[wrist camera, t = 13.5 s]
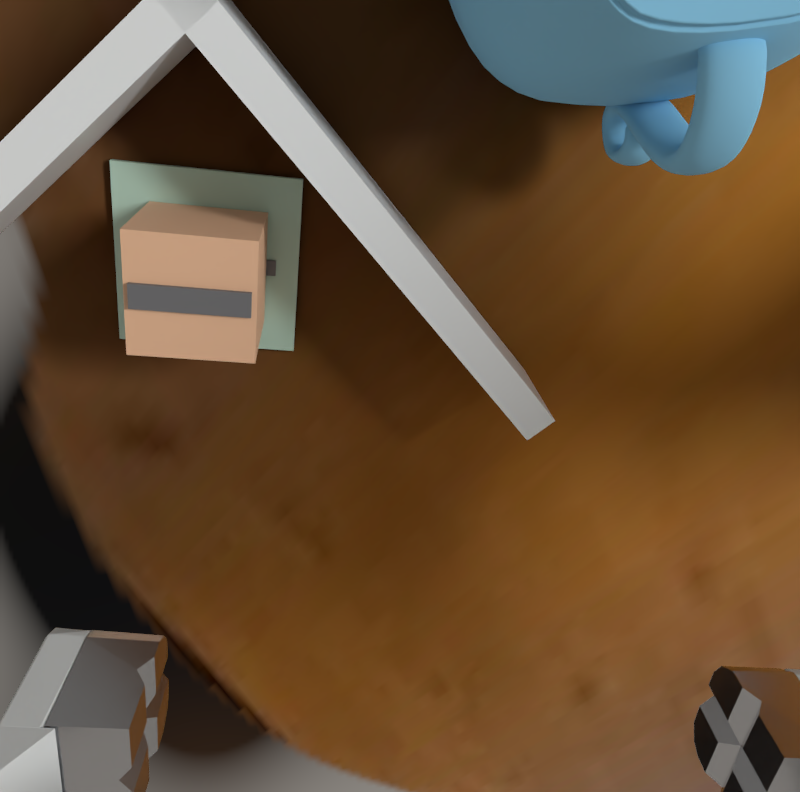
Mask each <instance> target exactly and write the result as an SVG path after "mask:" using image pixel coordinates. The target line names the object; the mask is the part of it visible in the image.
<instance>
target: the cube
mask: <svg viewBox="0 0 800 792" xmlns="http://www.w3.org/2000/svg"><path fill="white" fill-rule="evenodd" d="M267 232H268V212H258V211H247V210H237V209H226V208H216V207H205V206H195V205H184V204H174V203H163V202H153V201H149V202H148V203H147V204H146V205H145V206H144V207H143V208H142V209H141V210H139V211H138V212H137V213H136V214H135V215H134V216H133V217H132V218H131V219H130V220H129V221H128V222H127V223H126V224H124V225H123V226H122V227H121V228H120V243H121V262H122V281H123V299H124V318H125V337H126V355H137V356H152V357H166V358H181V359H196V360H211V361H226V362H240V363H255V362H256V357H257V352H258V348H259V343H260V338H261V333H262V329H263V324H264V316H265V288H266V260H267Z"/></svg>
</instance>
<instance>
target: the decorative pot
mask: <svg viewBox="0 0 800 792" xmlns="http://www.w3.org/2000/svg"><path fill="white" fill-rule="evenodd" d="M449 2H450V5H451V8H452V10H453V13H454V16H455V18H456V20H457V22H458V25H459V27H460V29H461V31H462V33H463V35H464V37H465V39H466V41H467V43H468V45H469V46H470V48H471V49H472V51H473V52H474V54H475V55H476V56H477V58H478V59H479V61H480V62H481V64H482V65H483V66H484V68H486V69H487V70H488V71H489V72H490V73H491V74H492V75H493V76H494V77H495V78H496V79H497V80H499V81H500V82H501V83H503V84H504V85H506V86H508V87H509V88H511V89H512V90H514V91H516V92H517V93H520V94H523V95H526V96H529V97H531V98H534V99H537V100H541V101H547V102H557V103H566V104H575V105H594V106H606V107H605V110H604V113H603V119H602V136H603V143H604V148H605V151H606V153H607V155H608V156H609V158H611V159H612V160H613V161H615V162H617V163H620V164H623V165H627V166H638V165H641V164H644V163H646V162H648V161H649V160H650V159H651V160H652V161H653V162H654V163H656V164H657V165H658V166H659V167H661V168H662V169H664V170H666V171H668V172H671V173H674V174H679V175H699V174H706V173H710V172H713V171H715V170H718V169H720V168H722V167H724V166H725V165H727V164H728V163H729V162H731V161H732V160H733V159H734V158H735V157H736V156H737V155H738V154H739V153H740V151H741V150H742V148H743V147H744V145H745V143H746V142H747V140H748V138H749V136H750V134H751V132H752V129H753V127H754V124H755V122H756V119H757V116H758V113H759V110H760V106H761V102H762V97H763V93H764V87H765V78H766V72H768V71H770V70H772V69H774V68H775V67H777V66H779V65H781V64H783V63H785V62H787V61H788V60H790V59H792V58H794V57H796V56H797V55H799V54H800V0H449ZM694 94H696V95H695V101H694V107H693V111H692V115H691V119H690V123H689V125H688V124H687V122H686V121H685V120H684V118H683V117H682V116H681V114H680V113H679V112H678V111H677V109H676V108H675V107H674V106H673V105H672V103H671V102H670V101H669V100H670V99H676V98H682V97H686V96H690V95H694Z"/></svg>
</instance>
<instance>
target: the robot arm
mask: <svg viewBox="0 0 800 792" xmlns="http://www.w3.org/2000/svg"><path fill="white" fill-rule="evenodd" d="M167 657H168V651H167V638H166V637H165V636H160V635H147V634H135V633H121V632H109V631H97V630H93V631H87V630H75V629H63V628H55V629H54V630H53V631H52V632H51V633H49V634H48V635H47V636H46V638H45V640H44V642H43V643H42V645H41V647H40V649H39V651H38V653H37V654H36V656H35V658H34V660H33V662H32V664H31V665H30V667H29V669H28V671H27V673H26V675H25V676H24V678H23V680H22V682H21V684H20V686H19V687H18V689H17V691H16V693H15V695H14V697H13V699H12V700H11V702H10V704H9V706H8V708H7V710H6V711H5V713H4V715H3V717H2V719H1V720H0V792H146V789H147V785H148V782H149V759H148V758H149V757H151V756H152V755H153V754H154V753H155V752H156V751H157V750H158V748H159V744H160V741H161V737H162V734H163V730H164V724H165V719H166V713H167V707H168V694H169V689H168V687H169V685H168V684H169V683H168V679H167V677H166V676H165V675H164V674H163V670H164V666H165V663H166V660H167ZM709 686H710V688H711V690H712V692H713V694H714V696H713V697H711V698H710V699H709V700H707V701H706V702H705V703H703V704H702V705H700V707H699V710H698V713H697V715H696V718H695V721H694V743H695V747H696V751H697V755H698V758H699V760H700V762H701V764H702V767H703V769H704V771H705V773H706V774H707V775H709V776H710V777H711V778H712V779H713V780H714V781H716V782H717V783H718V784H719V785H720V786H721V787H722V789H721V792H800V669H784V670H783V669H777V668H754V667H732V666H721V667H720V668H718V669H717V670H716V671H715V672H714V673H713V676H712V678H711V680H710V683H709Z"/></svg>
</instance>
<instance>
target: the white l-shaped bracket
mask: <svg viewBox="0 0 800 792" xmlns="http://www.w3.org/2000/svg"><path fill="white" fill-rule="evenodd" d="M195 47H197V48H198V49H199V50H200V52H201V53H202V54H203V55H204V56H205V58H206V59H207V60H208V61H209V62H210V64H211V65H212V66H213V67H214V68H215V69H216V71H217V72H218V73H219V74H220V75H221V77H222V78H223V79H224V80H225V81H226V83H227V84H228V85H229V86H230V87H231V89H232V90H233V91H234V92H235V93H236V94H237V96H238V97H239V98H240V99H241V100H242V102H243V103H244V104H245V105H246V106H247V108H248V109H249V110H250V111H251V112H252V114H253V115H254V116H255V117H256V118H257V119H258V121H259V122H260V123H261V124H262V125H263V127H264V128H265V129H266V130H267V131H268V133H269V134H270V135H271V136H272V137H273V139H274V140H275V141H276V142H277V143H278V144H279V146H280V147H281V148H282V149H283V150H284V152H285V153H286V154H287V155H288V156H289V158H290V159H291V160H292V161H293V162H294V164H295V165H296V166H297V167H298V168H299V169H300V171H301V172H302V173H303V174H304V175H305V177H306V178H307V179H308V180H309V181H310V183H311V184H312V185H313V186H314V187H315V189H316V190H317V191H318V192H319V193H320V194H321V196H322V197H323V198H324V199H325V200H326V202H327V203H328V204H329V205H330V206H331V208H332V209H333V210H334V211H335V212H336V214H337V215H338V216H339V217H340V218H341V219H342V221H343V222H344V223H345V224H346V225H347V227H348V228H349V229H350V230H351V231H352V233H353V234H354V235H355V236H356V237H357V239H358V240H359V241H360V242H361V243H362V244H363V246H364V247H365V248H366V249H367V250H368V252H369V253H370V254H371V255H372V256H373V258H374V259H375V260H376V261H377V262H378V264H379V265H380V266H381V267H382V268H383V269H384V271H385V272H386V273H387V274H388V275H389V277H390V278H391V279H392V280H393V281H394V283H395V284H396V285H397V286H398V287H399V289H400V290H401V291H402V292H403V293H404V294H405V296H406V297H407V298H408V299H409V300H410V302H411V303H412V304H413V305H414V306H415V308H416V309H417V310H418V311H419V312H420V314H421V315H422V316H423V317H424V318H425V320H426V321H427V322H428V323H429V324H430V325H431V327H432V328H433V329H434V330H435V331H436V333H437V334H438V335H439V336H440V337H441V339H442V340H443V341H444V342H445V343H446V345H447V346H448V347H449V348H450V349H451V350H452V352H453V353H454V354H455V355H456V356H457V358H458V359H459V360H460V361H461V362H462V364H463V365H464V366H465V367H466V368H467V370H468V371H469V372H470V373H471V374H472V375H473V377H474V378H475V379H476V380H477V381H478V383H479V384H480V385H481V386H482V387H483V389H484V390H485V391H486V392H487V393H488V395H489V396H490V397H491V398H492V399H493V400H494V402H495V403H496V404H497V405H498V406H499V408H500V409H501V410H502V411H503V412H504V414H505V415H506V416H507V417H508V418H509V420H510V421H511V422H512V423H513V424H514V425H515V427H516V428H517V429H518V430H519V431H520V433H521V434H522V435H523V436H524V437H525V439H526V440H529V439H530V438H532V437H533V436H534V435H536V434H537V433H539V432H540V431H541V430H543V429H544V428H546V427H547V426H549V425H550V424H551V423H553V422H554V421H555V420H554V418H553V416H552V415H551V413H550V411H549V410H548V408H547V406H546V405H545V403H544V401H543V400H542V398H541V396H540V395H539V393H538V391H537V390H536V388H535V386H534V385H533V383H532V381H531V380H530V378H529V376H528V375H527V373H526V371H525V370H524V368H523V367H522V366H521V365H520V363H519V362H518V361H517V360H516V358H515V357H514V356H513V355H512V353H511V352H510V351H509V349H508V348H507V347H506V346H505V344H504V343H503V342H502V341H501V339H500V338H499V337H498V336H497V334H496V333H495V332H494V331H493V329H492V328H491V327H490V326H489V324H488V323H487V322H486V321H485V319H484V318H483V317H482V315H481V314H480V313H479V312H478V310H477V309H476V308H475V307H474V305H473V304H472V303H471V302H470V300H469V299H468V298H467V297H466V295H465V294H464V293H463V292H462V290H461V289H460V288H459V287H458V285H457V284H456V283H455V281H454V280H453V279H452V278H451V276H450V275H449V274H448V273H447V271H446V270H445V269H444V268H443V266H442V265H441V264H440V263H439V261H438V260H437V259H436V258H435V256H434V255H433V254H432V252H431V251H430V250H429V249H428V247H427V246H426V245H425V244H424V242H423V241H422V240H421V239H420V237H419V236H418V235H417V234H416V232H415V231H414V230H413V229H412V227H411V226H410V225H409V224H408V222H407V221H406V220H405V218H404V217H403V216H402V215H401V213H400V212H399V211H398V210H397V208H396V207H395V206H394V205H393V203H392V202H391V201H390V200H389V198H388V197H387V196H386V195H385V193H384V192H383V191H382V190H381V188H380V187H379V186H378V184H377V183H376V182H375V181H374V179H373V178H372V177H371V176H370V174H369V173H368V172H367V171H366V169H365V168H364V167H363V166H362V164H361V163H360V162H359V161H358V159H357V158H356V157H355V156H354V154H353V153H352V152H351V150H350V149H349V148H348V147H347V145H346V144H345V143H344V142H343V140H342V139H341V138H340V137H339V135H338V134H337V133H336V132H335V130H334V129H333V128H332V127H331V125H330V124H329V123H328V122H327V120H326V119H325V118H324V116H323V115H322V114H321V113H320V111H319V110H318V109H317V108H316V106H315V105H314V104H313V103H312V101H311V100H310V99H309V98H308V96H307V95H306V94H305V93H304V91H303V90H302V89H301V88H300V86H299V85H298V84H297V82H296V81H295V80H294V79H293V77H292V76H291V75H290V74H289V72H288V71H287V70H286V69H285V67H284V66H283V65H282V64H281V62H280V61H279V60H278V59H277V57H276V56H275V55H274V54H273V52H272V51H271V50H270V48H269V47H268V46H267V45H266V43H265V42H264V41H263V40H262V38H261V37H260V36H259V35H258V33H257V32H256V31H255V30H254V28H253V27H252V26H251V25H250V23H249V22H248V21H247V20H246V18H245V17H244V16H243V14H242V13H241V12H240V11H239V9H238V8H237V7H236V6H235V4H234V3H233V2H232V1H231V0H142V1H141V2H140V3H139V4H138V5H137V6H136V7H135V8H134V9H133V10H132V11H131V12H130V13H129V14H128V15H127V16H126V17H125V18H124V19H123V20H122V21H121V22H120V23H119V24H118V25H117V26H116V27H115V28H114V29H113V30H112V31H111V32H110V33H109V34H108V35H107V36H106V37H105V38H104V39H103V40H102V41H101V42H100V43H99V44H98V45H97V46H96V47H95V48H94V49H93V50H92V51H91V52H90V53H89V54H88V55H87V56H86V57H85V58H84V59H83V60H82V61H81V62H80V63H79V64H78V65H77V66H76V67H75V68H74V69H73V70H72V71H71V72H70V73H69V74H68V75H67V76H66V77H65V78H64V79H63V80H62V81H61V82H60V83H59V84H58V85H57V86H56V87H55V88H54V89H53V90H52V91H51V92H50V93H49V94H48V95H47V96H46V97H45V98H44V99H43V100H42V101H41V102H40V103H39V104H38V105H37V106H36V107H35V108H34V109H33V110H32V111H31V112H30V113H29V114H28V115H27V116H26V117H25V118H24V119H23V120H22V121H21V122H20V123H19V124H18V125H17V126H16V127H15V128H14V129H13V130H12V131H11V132H10V133H9V134H8V135H7V136H6V137H5V138H4V139H3V140H2V141H1V142H0V233H2V232H3V231H4V230H5V229H6V228H7V227H8V226H9V225H10V224H11V223H12V222H13V221H14V220H15V219H16V218H17V217H18V216H20V215H21V214H22V213H23V212H24V211H25V210H26V209H27V208H28V207H29V206H30V205H31V204H32V203H33V202H34V201H35V200H36V199H37V198H38V197H39V196H40V195H41V194H42V193H44V192H45V191H46V190H47V189H48V188H49V187H50V186H51V185H52V184H53V183H54V182H55V181H56V180H57V179H58V178H59V177H60V176H61V175H62V174H63V173H64V172H65V171H66V170H68V169H69V168H70V167H71V166H72V165H73V164H74V163H75V162H76V161H77V160H78V159H79V158H80V157H81V156H82V155H83V154H84V153H85V152H86V151H87V150H88V149H89V148H91V147H92V146H93V145H94V144H95V143H96V142H97V141H98V140H99V139H100V138H101V137H102V136H103V135H104V134H105V133H106V132H107V131H108V130H109V129H110V128H111V127H112V126H113V125H115V124H116V123H117V122H118V121H119V120H120V119H121V118H122V117H123V116H124V115H125V114H126V113H127V112H128V111H129V110H130V109H131V108H132V107H133V106H134V105H135V104H136V103H137V102H139V101H140V100H141V99H142V98H143V97H144V96H145V95H146V94H147V93H148V92H149V91H150V90H151V89H152V88H153V87H154V86H155V85H156V84H157V83H158V82H159V81H160V80H162V79H163V78H164V77H165V76H166V75H167V74H168V73H169V72H170V71H171V70H172V69H173V68H174V67H175V66H176V65H177V64H178V63H179V62H180V61H181V60H182V59H183V58H184V57H186V56H187V55H188V54H189V53H190V52H191V51H192V50H193V49H194V48H195ZM109 161H110V178H111V196H112V213H113V231H114V248H115V266H116V283H117V301H118V318H119V336H120V339H126V337H125V318H124V299H123V281H122V262H121V243H120V228H121V227H122V226H123V225H124V224H126V223H127V222H128V221H129V220H130V219H131V218H132V217H133V216H134V215H135V214H136V213H137V212H138V211H139V210H141V209H142V208H143V207H144V206H145V205H146V204H147V203H148V202H149V201H153V202H163V203H174V204H184V205H195V206H205V207H216V208H226V209H237V210H247V211H258V212H268V232H267V260H266V288H265V316H264V324H263V329H262V333H261V338H260V343H259V349H273V350H287V351H294V337H295V319H296V301H297V283H298V265H299V247H300V229H301V211H302V193H303V179H301V178H292V177H282V176H272V175H262V174H252V173H243V172H233V171H223V170H213V169H203V168H194V167H184V166H174V165H164V164H155V163H145V162H135V161H125V160H115V159H111V160H109Z"/></svg>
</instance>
